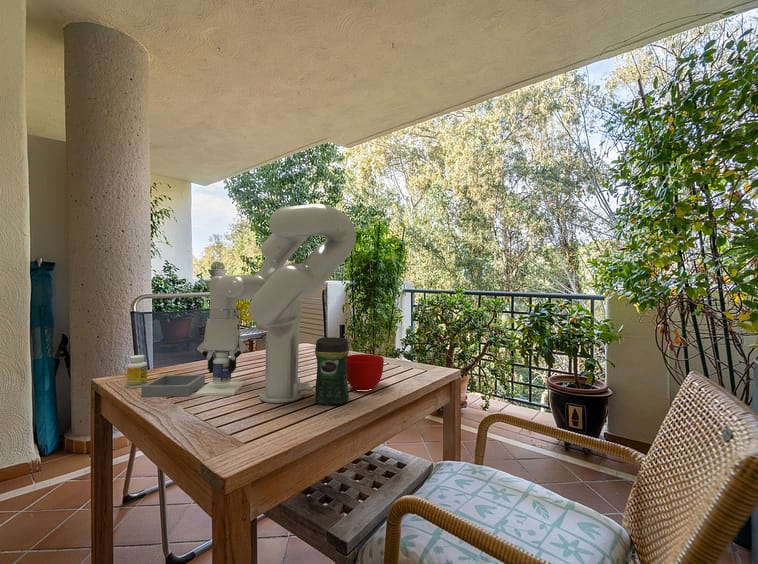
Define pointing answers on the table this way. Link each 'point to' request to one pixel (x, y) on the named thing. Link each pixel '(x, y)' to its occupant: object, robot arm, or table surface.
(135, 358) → the supplement bottle
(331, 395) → the coffee jar
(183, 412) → the table surface
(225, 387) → the tile
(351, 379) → the ceramic cup
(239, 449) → the table surface
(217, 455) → the table surface
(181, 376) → the bin
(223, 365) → the pill bottle
